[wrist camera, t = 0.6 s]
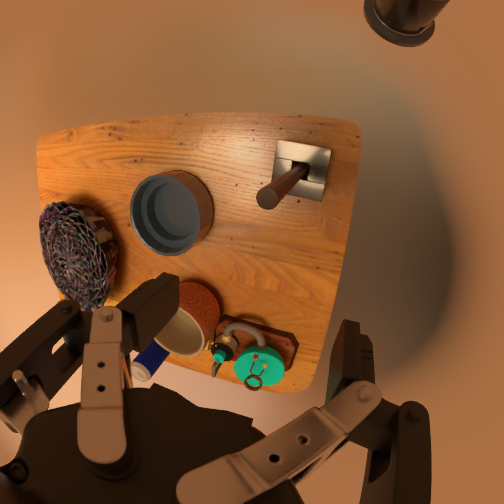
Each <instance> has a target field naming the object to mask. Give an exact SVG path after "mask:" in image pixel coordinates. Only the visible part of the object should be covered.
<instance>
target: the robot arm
mask: <svg viewBox="0 0 504 504" xmlns="http://www.w3.org/2000/svg"><path fill="white" fill-rule="evenodd" d="M449 1H450V0H373V3H372V9H373V13H374V15H375V17H376V19H377V20H378V21H379V22H380V23H381V24H382V25H383V26H384V27H385V28H386V29H388V30H389V31H391V32H393V33H395V34H397V35H400V36H405V37H416V36H419V35H421V34H423V33H424V32H425V31H426V29H427V28H429V27H430V26H431V25H432V24H433V23H432V24H431V22H432V21H433V20H434V19H435V18H436V16H437V15H438V14H439V13H440V12H441V10H442V9H443V8H444V7H445V6H446V4H447V3H448V2H449ZM430 24H431V25H430ZM179 304H180V290H179V277H178V276H176V275H172V274H169V273H165V272H163V273H162V274H161V275H159V276H158V277H157V278H156V279H151V280H148V281H146V282H144V283H142V284H141V285H140V286H139V287H138V288H137V289H135V290H134V291H133V292H132V293H130V294H129V295H128V296H127V297H126V298H124V299H123V300H122V301H121V302H120V303H119V304H117V305H116V306H115V307H114V306H103V307H100V308H98V309H97V310H95V311H94V312H88V311H82V310H81V307H80V304H79V302H78V301H76V300H73V299H67V300H63V301H61V302H59V303H57V304H56V305H55V306H54V307H53V308H51V309H50V310H49V311H48V312H46V314H44V315H43V316H42V317H40V318H39V319H38V320H37V321H36V322H35V323H34V324H32V325H31V326H30V327H29V328H28V329H26V330H25V331H24V332H23V333H22V334H21V335H20V336H18V337H17V338H16V339H15V340H14V341H13V342H12V343H11V344H10V345H8V346H7V347H6V348H5V349H4V350H3V351H2V352H1V353H0V419H1V420H2V421H3V422H4V423H5V424H6V426H7V427H8V428H9V429H10V430H11V431H13V432H15V433H20V434H21V435H22V440H21V444H20V447H19V450H18V452H17V454H16V456H15V458H14V459H13V460H12V461H11V462H10V463H8V464H6V465H4V466H2V467H0V504H304V502H303V500H302V498H301V496H300V495H299V493H298V491H297V489H296V487H295V486H296V485H298V484H299V483H301V482H302V481H303V480H305V479H306V478H307V477H309V476H310V475H311V474H312V473H313V472H314V471H316V470H317V469H318V468H319V467H320V466H321V465H322V464H324V463H325V462H326V461H327V460H328V459H330V458H331V457H332V456H333V455H335V454H336V453H337V452H338V451H339V450H340V449H342V448H343V447H344V446H345V445H346V444H347V443H348V442H350V441H351V442H353V443H356V444H358V445H360V446H362V447H365V448H367V449H368V454H367V462H366V468H365V475H364V482H363V487H362V492H361V498H360V503H359V504H430V501H431V436H430V423H429V422H430V421H429V414H428V411H427V409H426V408H425V407H424V406H423V405H421V404H420V403H418V402H415V401H407V402H405V403H403V404H402V405H401V406H398V405H395V404H393V403H390V402H388V401H386V400H385V399H383V398H382V395H381V392H380V390H379V388H378V387H377V386H376V385H375V374H374V360H373V346H372V342H371V341H370V339H369V337H368V336H367V335H363V334H360V323H359V322H355V321H350V320H345V319H344V320H343V322H342V324H341V327H340V330H339V332H338V335H337V337H336V340H335V342H334V345H333V348H332V352H331V358H330V367H329V377H328V384H327V392H326V400H325V405H323V406H322V407H320V408H317V407H312V408H311V409H309V410H308V411H306V412H305V413H303V414H302V415H300V416H299V417H297V418H296V419H294V420H292V421H291V422H289V423H288V424H286V425H285V426H283V427H281V428H280V429H278V430H277V431H275V432H273V433H271V434H270V435H268V436H266V435H264V434H263V433H262V432H261V431H259V430H257V429H256V428H255V427H253V426H251V425H252V422H253V418H249V417H246V416H242V415H239V414H236V413H233V412H229V411H225V410H217V409H209V408H202V407H198V406H196V405H194V404H193V403H191V402H190V401H188V400H187V399H185V398H184V397H183V396H181V395H180V394H178V393H177V392H175V391H172V390H170V389H168V388H165V387H163V386H160V385H158V384H156V383H153V385H152V386H151V387H150V389H148V388H133V382H132V371H131V359H130V352H131V351H132V350H134V351H136V352H139V353H142V352H143V351H144V350H145V349H146V347H147V346H148V345H149V344H150V343H151V342H152V340H153V339H154V338H155V337H156V336H157V335H158V334H159V332H160V331H161V330H162V329H163V328H164V327H165V326H166V324H167V323H168V322H169V321H170V320H171V319H172V318H173V316H174V315H175V314H176V313H177V311H178V308H179ZM62 337H63V338H64V341H65V343H64V344H63V345H62V346H61V347H60V348H59V349H58V350H57V351H56V352H55V353H54V354H53V355H52V348H53V346H54V345H55V344H56V343H57V342H58V341H59V340H60V339H61V338H62ZM82 363H83V365H82ZM81 365H82V380H81V402H79V403H75V404H71V405H67V406H63V407H59V408H55V409H50V410H48V408H49V401H50V400H51V399H52V398H53V397H54V396H55V394H56V393H57V392H58V391H59V389H61V387H62V386H63V385H64V384H65V383H66V382H67V380H68V379H69V378H70V377H71V376H72V374H74V372H75V371H76V370H77V369H78V368H79V367H80V366H81Z"/></svg>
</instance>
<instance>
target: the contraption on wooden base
mask: <svg viewBox="0 0 504 504" xmlns="http://www.w3.org/2000/svg"><path fill="white" fill-rule="evenodd" d="M213 341H214V342H213ZM212 344H213V345H212ZM298 346H299V344H298V342H297V340H296V338H295V336H294V335H293V334H292V333H288V332H284V331H280V330H277V329H273V328H269V327H266V326H262V325H259V324H255V323H252V322H248V321H245V320H241V319H238V318H235V317H231V316H228V315H224V316H223V317H221V318H220V319H219V322H218V325H217V327H216V329H215V330H214V334H212V336H211V338H210V340H209V341H208V343H207V345H206V350H210V349H211V350H210V351H211V353H212V354H213V359H214V360H215V361H216V362H214V364H213V366H212V377H215V376H216V374H217V372H218V370H219V368H220V366H221V364H222V362H224V361H230V360H233V361H236V362H235V365H234V370H235V373H236V375H237V377H238V378H239V379H240V380H241V381H242V382H244V384H245V386H246V388H248V389H249V390H253V391H257V390H259V389H260V388H261V387H262V386H269V385H274V384H276V383H278V382H279V381H280V380H281V379H282V378H283V376H284V372H285V371H287V370H289V369H291V366H292V364H293V361H294V358H295V355H296V352H297V349H298ZM217 362H218V363H219V364H218V365H217ZM216 365H217V367H216ZM215 368H216V369H215ZM250 385H254V386H258V387H251V386H250Z"/></svg>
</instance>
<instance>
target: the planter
mask: <svg viewBox="0 0 504 504" xmlns="http://www.w3.org/2000/svg"><path fill="white" fill-rule="evenodd" d="M179 290H180V304H179V308H178V311H177V313H176V314H175V315H174V316H173V318H172V319H171V320H170V321H169V322H168V323H167V324H166V326H165V327H164V328H163V329H162V330H161V331H160V332H159V334H158V335H157V336H156V337H155V338H154V339H155V341H156V342H157V343H158V344H159V345H160V346H161V347H163V348H164V349H165V350H167V351H169V352H170V353H172V354H175V355H178V356H182V357H193V356H196V355H198V354H199V353H200V352H201V351H202V350H203V349H204V348H205V346H206V345H207V343H208V341H209V340H210V338H211V336H212V334H213V332H214V330H215V329H216V327H217V325H218V322H219V319H220V307H219V304H218V301H217V299H216V298H215V296H214V295H213V294H212V292H211V291H210V290H208V289H207V288H206V287H204V286H202V285H200V284H198V283H194V282H182V283H179Z"/></svg>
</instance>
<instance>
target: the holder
mask: <svg viewBox="0 0 504 504" xmlns="http://www.w3.org/2000/svg"><path fill="white" fill-rule="evenodd" d="M330 155H331V149H330V148H326V147H321V146H316V145H311V144H306V143H300V142H294V141H289V140H277V146H276V153H275V160H274V167H273V174H272V180H271V182H272V181H274V180H275V179H277V178H278V177H280V176H281V175H283V174H284V173H286V172H288V171H289V170H291V169H292V168H294V167H295V166H297V161H299V162H304V163H309V164H310V167H309V173H308V175H303V177H302V178H301V179H300V180H299V181H298V182H297V183H296V184H295V185H294V187H293V188H292V189H291V190H290V191H289V192H288V193H287V195H292V196H297V197H302V198H306V199H311V200H315V201H320V202H322V198H323V193H324V187H325V182H326V177H327V172H328V166H329V161H330Z"/></svg>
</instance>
